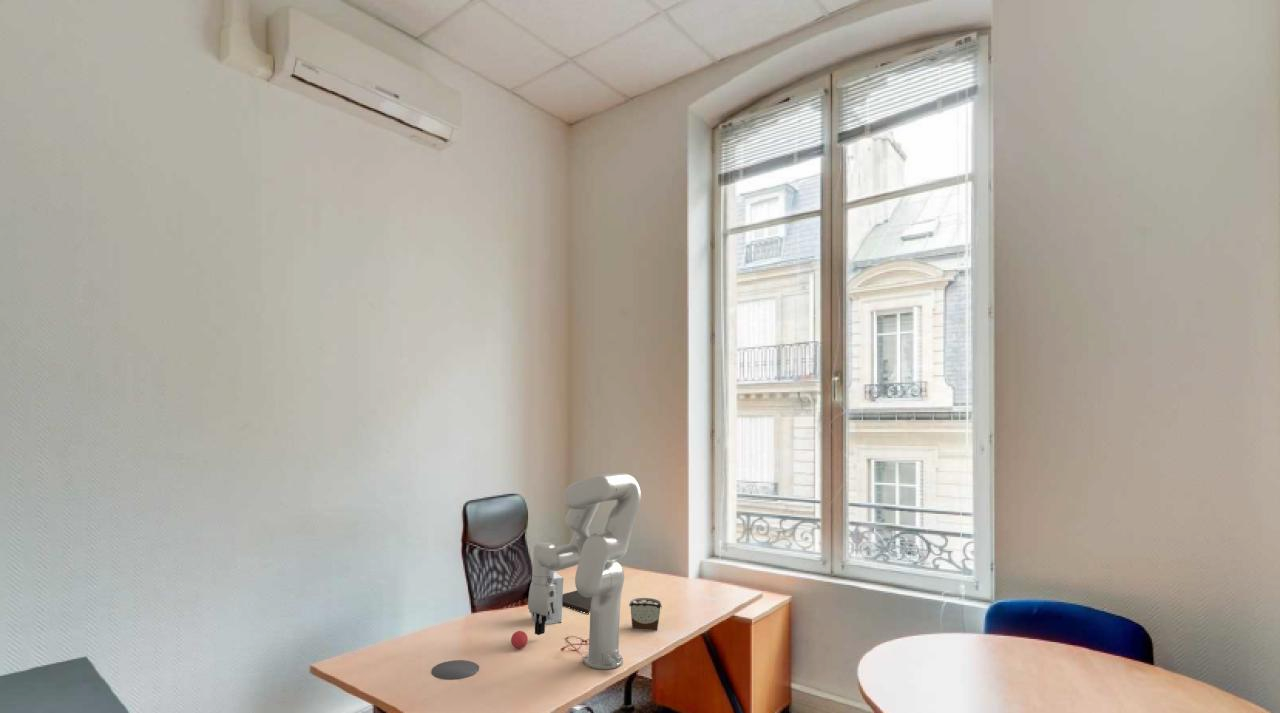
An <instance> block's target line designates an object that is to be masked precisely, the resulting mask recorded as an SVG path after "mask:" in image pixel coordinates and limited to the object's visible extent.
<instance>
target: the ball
mask: <svg viewBox="0 0 1280 713" xmlns="http://www.w3.org/2000/svg"><path fill="white" fill-rule="evenodd" d="M510 643H511V645H512V647H513V648H515V649H518V650H521V649H523V648H524V647H525V646H526V645H527V643H528V635H527V633H526V632H524V631H523V630H517V631H515V632H514V633H513V634H512V636H511V638H510Z"/></svg>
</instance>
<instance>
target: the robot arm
mask: <svg viewBox="0 0 1280 713" xmlns="http://www.w3.org/2000/svg"><path fill="white" fill-rule="evenodd" d="M641 492H642V491H641V488H640V485H639V483H638V482H637V479H636V478H635V477H634V476H632V475H631V474H629V473H625V472H624V473H623V472H614V473H604V474H597V475H593V476H591V477H587V478H584V479H582V480H579V481H576V482H572V483H570V484H569V485H568V486H567V487H566V488H565V490H564V493H563V502H564V505H565V506H566V507H567V508H568V512H567V513H566V515H565V517H564V518H565V520H564V522H565V524H566V525H567V527H568V528H570V529H571V530H572V531H574V533H573V535H572V537H571V540H570V541H569V543H568V544H563V545H560V546H555V544H554V543H551V542H549V541H548V542H545V541H544V542H542V541H541V542H537V543H535V544H534V545H533V546H534V547H533V558H532V573H531V574H532V575H531V582H530V585H529V591H528V598H527V599H528V600H527V607H528V610H529V611H528V612H529V613H530V614H532V615H533V616H534V620H533V621H534V634H535V635H537V636H540V635H543V634H545V632H546V625H545V622H546V621H547V620H550V619H552V618H553V617H552V613H555V612H556V589H555V585H554V584H553V583H554V572H557V571H560V570H564V569H568V568H570V567H575V566H577V568H576V572H575V578H574V583H575V584H574V585H575V588H576V589H575V590H576V591H578V592H579V594H581V595H582V596H584V597H592V601H591V609H590V614H589V633H588V634H589V636H588V637H589V638H588V640H589V642H588V653H586V654H585V655H584V656H583V663H584V665H586V666H587V667H589V668H591V667H592V669H595V668H596V669H597V670H611V669H616V668H619V667H620V666H621V665H622V664H623V662H624V658H623V656H622V655H621V654H620V651H619V647H620V646H619V643H620V617H621V616H620V615H621V602H622V601H621V600H622V599H621V598H622V592H623V587H624V583H625V572H624V569H623V568H624V567H623V566H622V565H621V564H620V563H619V562H618V561H617V560H620V559H622V558H623V557H625V555H626V554H627V552H628V550H629V549H628V548H629V544H630V541H631V537H632V533H633V528H634V525H635V520H636V518H637V515H638V512H639V509H640V505H641V502H642V493H641ZM612 501H616V502H615V504H614V505H613V507H612V508H611V510H610V511H609V514H608V518H607V522H606V525H605V528H604V530H602V531H597V532H595V533H591V534H590V530H589V527H590V525H591V524H592V520H593V519H594V517H595V514H596V513H597V511H598V509H599V507H600V504H601V503H605V502H612ZM596 669H595V670H596Z"/></svg>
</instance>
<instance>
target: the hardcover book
mask: <svg viewBox="0 0 1280 713" xmlns="http://www.w3.org/2000/svg"><path fill="white" fill-rule="evenodd" d="M591 601H592V597H584V596H582V595H581V594H579V592H578V591H577V590H574V591H570V592H569V591H568V592H566V593H563V597H562V605H563V606H562V607H565V606H566V607H565V608H568V607H570V608H569V609H571V608H573V609H572V610H574V609H575V610H574V611H577V610H579V611H578V612H580V611H582V612H581V613H583V612H585V613H584V614H586V613H588V614H587V615H590V614H589V613H590V609H591Z"/></svg>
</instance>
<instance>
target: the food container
mask: <svg viewBox="0 0 1280 713" xmlns="http://www.w3.org/2000/svg"><path fill="white" fill-rule="evenodd" d="M628 604H629V605H628V607H629V608H630V615H631V616H630V617H631V629H632V630H636V629H638V630H639V631H650V630H654V631H653V632H658V630H659V629H658V628H659V620H660V615H661V614H660V613H661V609H663V607H662V602H661V601H660V600H658V599H655V598H650V597H636V598H633V599H631V600H630V602H629V603H628Z"/></svg>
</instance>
